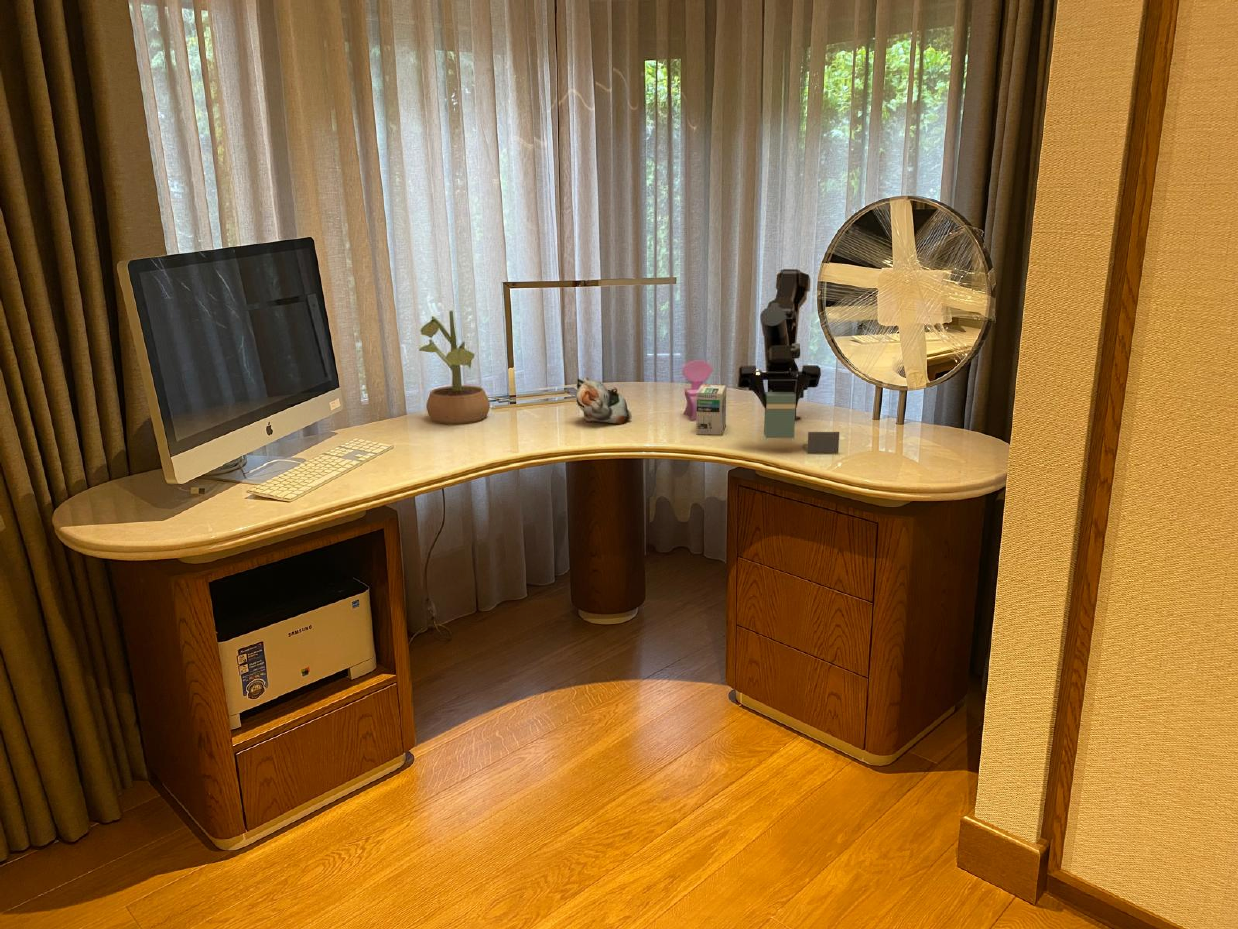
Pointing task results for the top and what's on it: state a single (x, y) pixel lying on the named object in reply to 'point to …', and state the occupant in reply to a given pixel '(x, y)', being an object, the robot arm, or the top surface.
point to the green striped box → (779, 415)
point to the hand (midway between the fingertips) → (780, 407)
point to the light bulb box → (711, 410)
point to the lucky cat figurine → (601, 402)
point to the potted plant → (454, 382)
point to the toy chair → (695, 383)
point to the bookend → (822, 442)
